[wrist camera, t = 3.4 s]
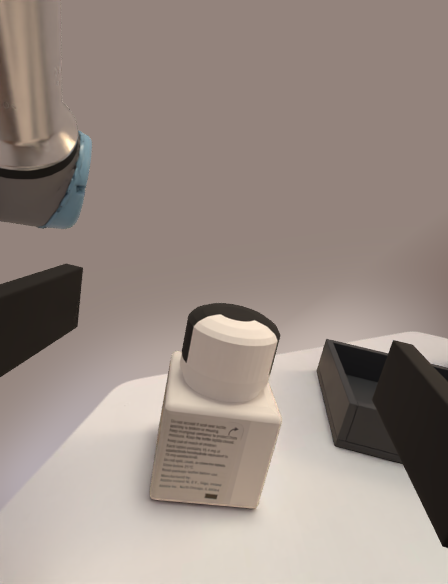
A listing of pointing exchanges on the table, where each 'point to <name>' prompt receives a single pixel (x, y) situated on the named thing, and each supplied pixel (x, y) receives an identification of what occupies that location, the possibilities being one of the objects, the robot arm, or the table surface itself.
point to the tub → (356, 398)
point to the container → (218, 410)
